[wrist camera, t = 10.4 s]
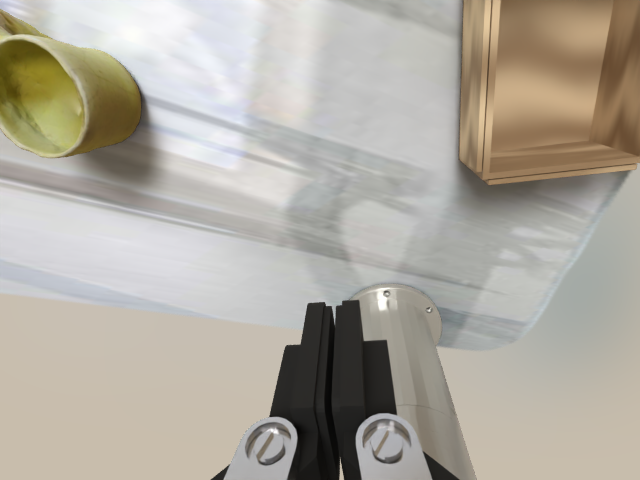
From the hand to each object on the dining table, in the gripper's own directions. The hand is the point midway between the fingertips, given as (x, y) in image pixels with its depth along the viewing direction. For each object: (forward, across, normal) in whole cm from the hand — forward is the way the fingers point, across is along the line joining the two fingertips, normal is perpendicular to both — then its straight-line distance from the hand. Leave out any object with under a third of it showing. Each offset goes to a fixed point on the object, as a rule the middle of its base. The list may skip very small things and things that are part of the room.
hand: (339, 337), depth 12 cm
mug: (+27, +24, -10) cm, 38 cm away
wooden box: (+27, -17, -6) cm, 33 cm away
